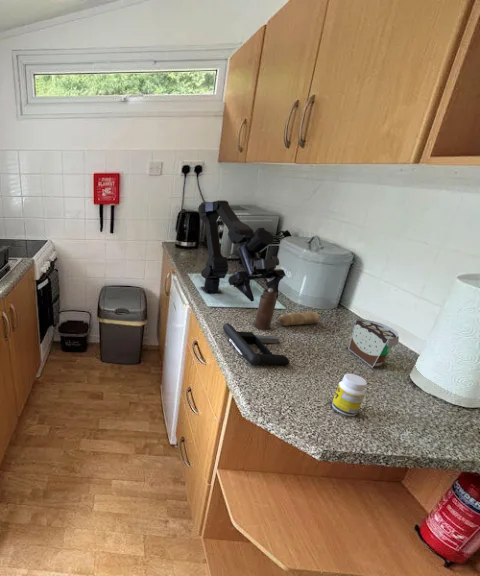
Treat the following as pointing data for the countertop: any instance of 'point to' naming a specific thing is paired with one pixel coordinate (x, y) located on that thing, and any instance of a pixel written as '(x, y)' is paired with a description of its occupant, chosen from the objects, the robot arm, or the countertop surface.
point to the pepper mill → (266, 309)
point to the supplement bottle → (349, 394)
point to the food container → (372, 341)
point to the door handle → (245, 338)
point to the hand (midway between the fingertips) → (264, 300)
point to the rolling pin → (299, 318)
